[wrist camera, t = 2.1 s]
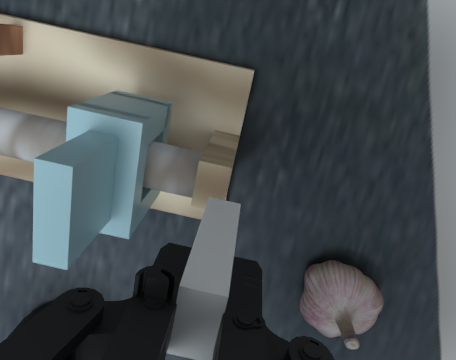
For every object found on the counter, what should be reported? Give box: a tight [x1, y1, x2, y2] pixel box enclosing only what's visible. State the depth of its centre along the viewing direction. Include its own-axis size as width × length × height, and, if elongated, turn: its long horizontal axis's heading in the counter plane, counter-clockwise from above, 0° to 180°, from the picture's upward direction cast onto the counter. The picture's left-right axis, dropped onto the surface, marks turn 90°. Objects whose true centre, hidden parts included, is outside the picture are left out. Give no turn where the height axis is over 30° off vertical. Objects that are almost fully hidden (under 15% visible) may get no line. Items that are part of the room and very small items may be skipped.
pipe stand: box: [0, 13, 255, 220], centre depth 27 cm, size 13×26×10 cm, turn 78°
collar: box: [33, 90, 173, 270], centre depth 21 cm, size 7×4×12 cm, turn 168°
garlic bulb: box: [300, 260, 384, 350], centre depth 31 cm, size 8×7×8 cm
